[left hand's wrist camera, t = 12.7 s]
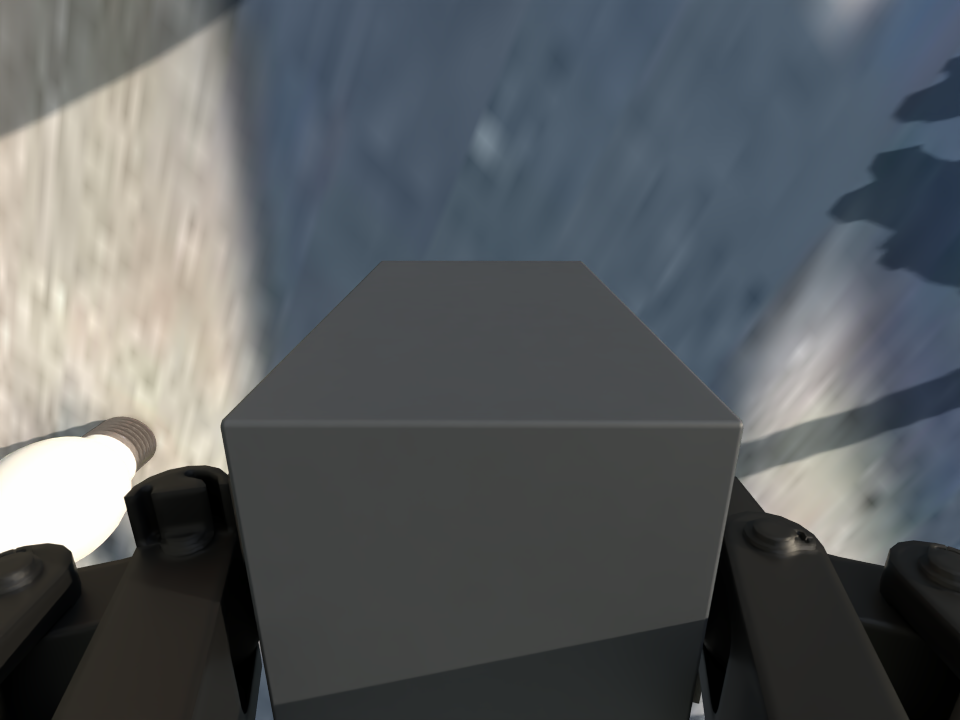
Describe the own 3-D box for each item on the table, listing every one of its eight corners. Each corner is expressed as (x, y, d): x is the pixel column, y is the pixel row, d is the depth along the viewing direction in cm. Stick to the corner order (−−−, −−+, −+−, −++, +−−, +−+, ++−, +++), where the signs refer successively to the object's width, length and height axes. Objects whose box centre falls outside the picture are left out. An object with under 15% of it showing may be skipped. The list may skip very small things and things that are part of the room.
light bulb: (132, 379, 34) (-16, 472, 24) (199, 462, 36) (89, 580, 26) (51, 425, 35) (-125, 532, 25) (120, 503, 37) (-16, 632, 27)
